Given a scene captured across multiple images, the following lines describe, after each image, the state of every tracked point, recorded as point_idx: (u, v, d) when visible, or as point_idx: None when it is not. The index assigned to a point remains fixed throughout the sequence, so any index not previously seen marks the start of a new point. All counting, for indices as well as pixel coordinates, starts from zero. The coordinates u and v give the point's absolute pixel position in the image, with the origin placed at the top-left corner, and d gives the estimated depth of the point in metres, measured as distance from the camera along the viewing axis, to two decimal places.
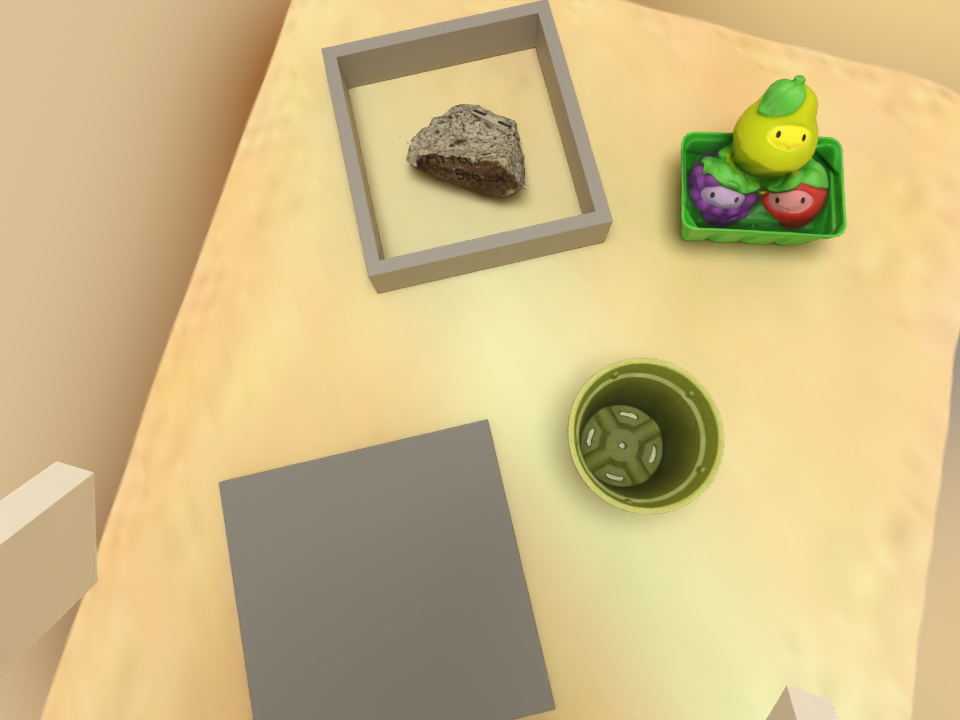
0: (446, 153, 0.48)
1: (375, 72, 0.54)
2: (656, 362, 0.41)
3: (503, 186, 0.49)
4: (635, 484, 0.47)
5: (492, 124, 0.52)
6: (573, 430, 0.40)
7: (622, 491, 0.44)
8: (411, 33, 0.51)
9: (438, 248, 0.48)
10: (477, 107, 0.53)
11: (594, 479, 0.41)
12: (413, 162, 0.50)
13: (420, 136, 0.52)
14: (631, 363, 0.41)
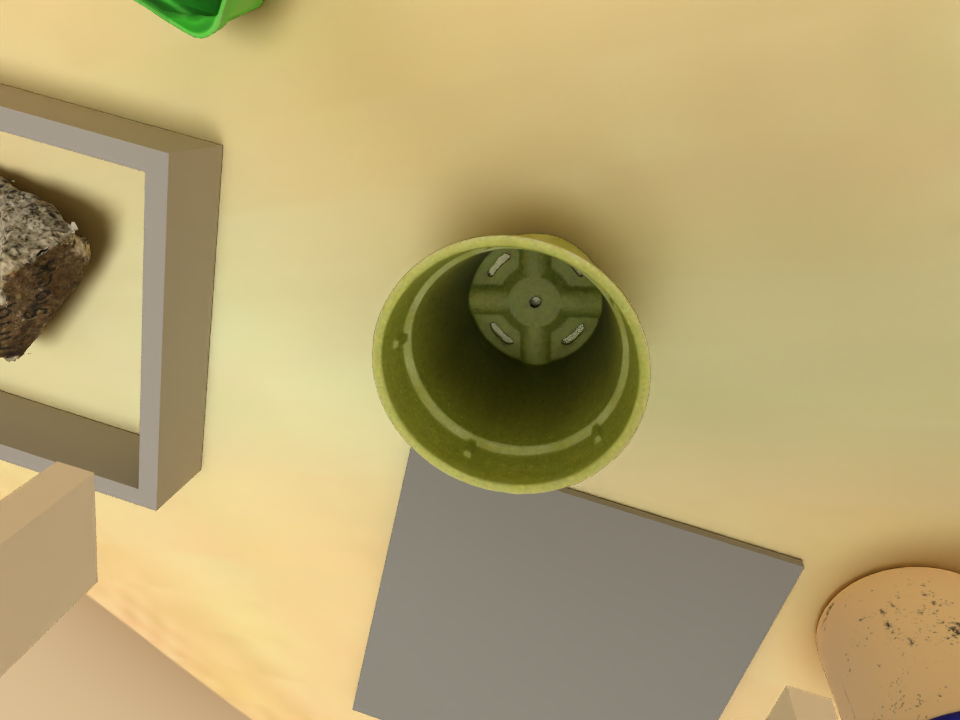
0: None
1: None
2: (400, 289, 0.22)
3: (64, 259, 0.30)
4: (599, 316, 0.29)
5: None
6: (446, 464, 0.24)
7: (589, 377, 0.27)
8: None
9: (142, 416, 0.32)
10: None
11: (539, 450, 0.25)
12: (12, 356, 0.33)
13: None
14: (384, 328, 0.23)
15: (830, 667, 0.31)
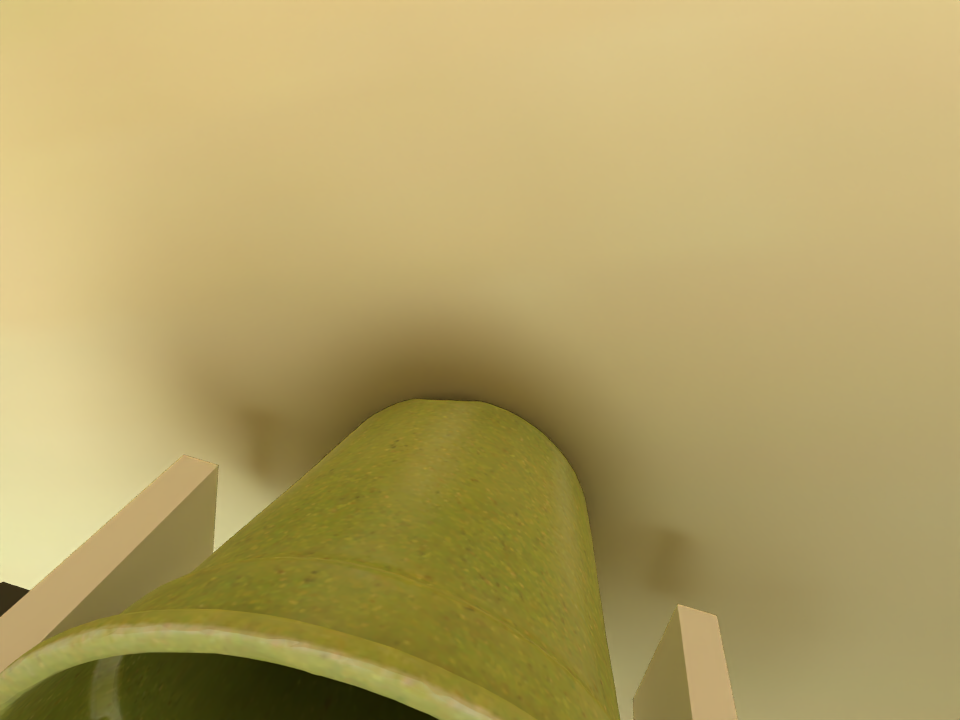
0: None
1: None
2: None
3: None
4: None
5: None
6: None
7: None
8: None
9: None
10: None
11: None
12: None
13: None
14: None
15: None
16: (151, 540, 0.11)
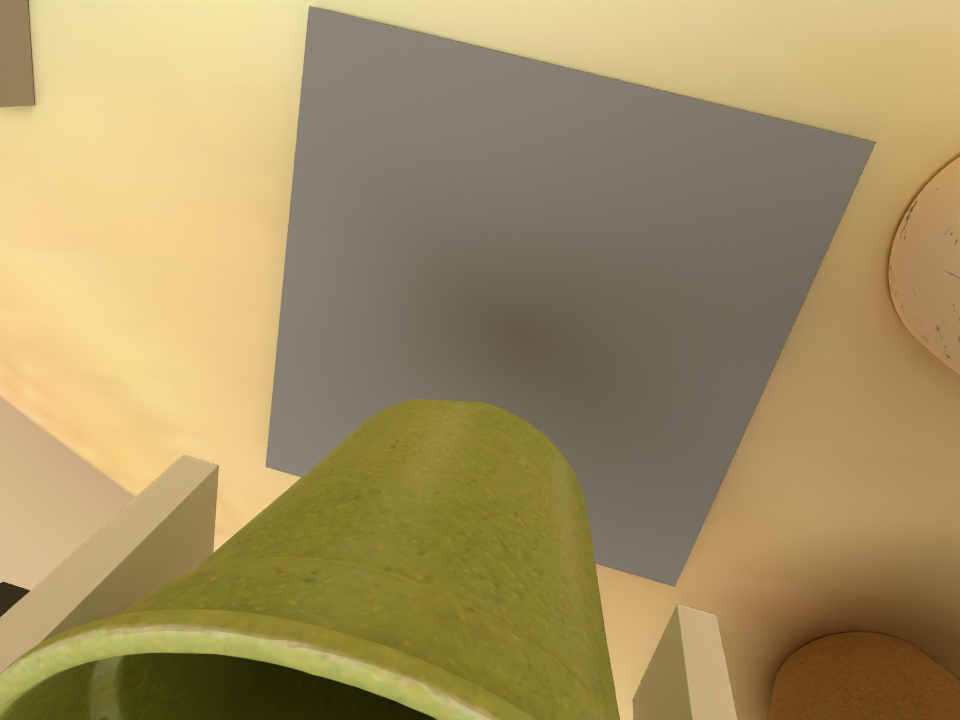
0: None
1: None
2: None
3: None
4: None
5: None
6: None
7: None
8: None
9: None
10: None
11: None
12: None
13: None
14: None
15: (918, 274, 0.21)
16: (151, 540, 0.11)
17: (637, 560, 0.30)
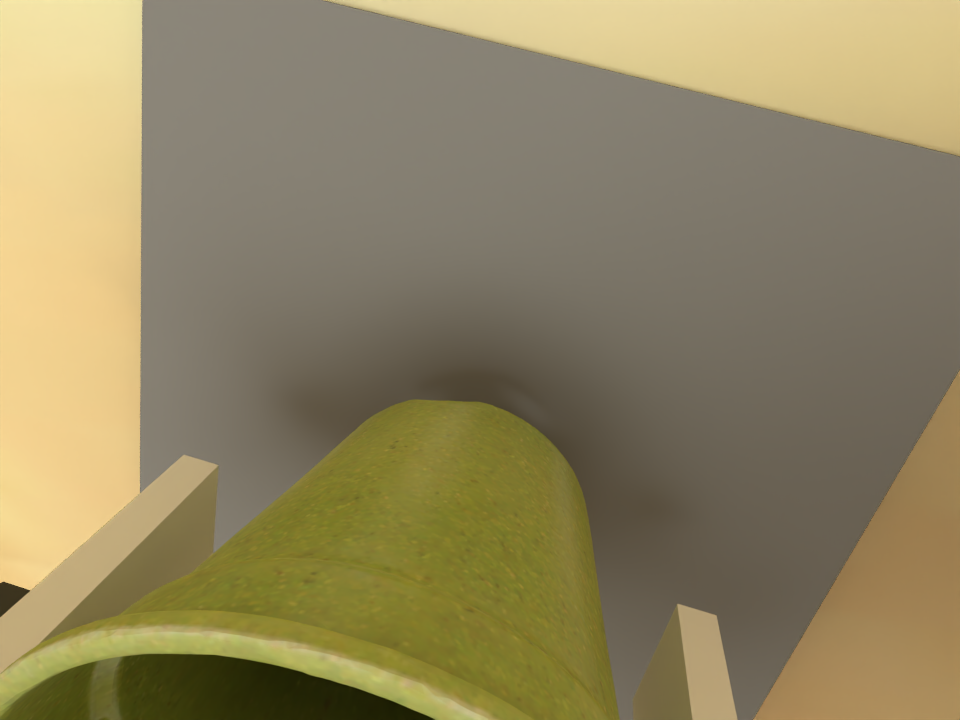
0: None
1: None
2: None
3: None
4: None
5: None
6: None
7: None
8: None
9: None
10: None
11: None
12: None
13: None
14: None
15: None
16: (152, 540, 0.11)
17: None
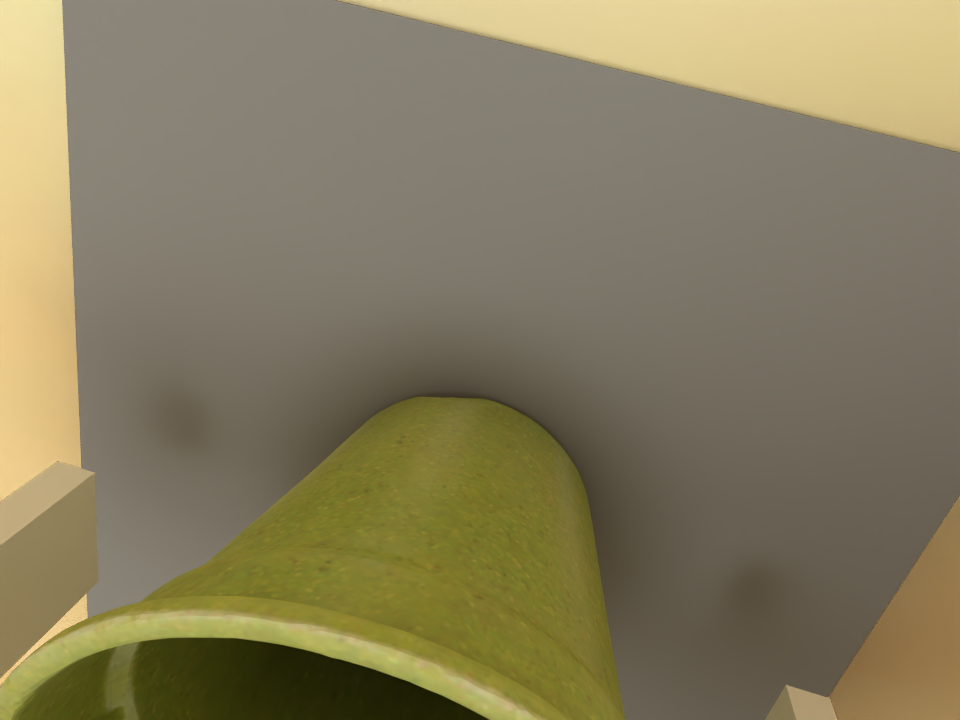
0: None
1: None
2: (6, 708, 0.08)
3: None
4: None
5: None
6: None
7: None
8: None
9: None
10: None
11: None
12: None
13: None
14: None
15: None
16: (0, 555, 0.10)
17: None
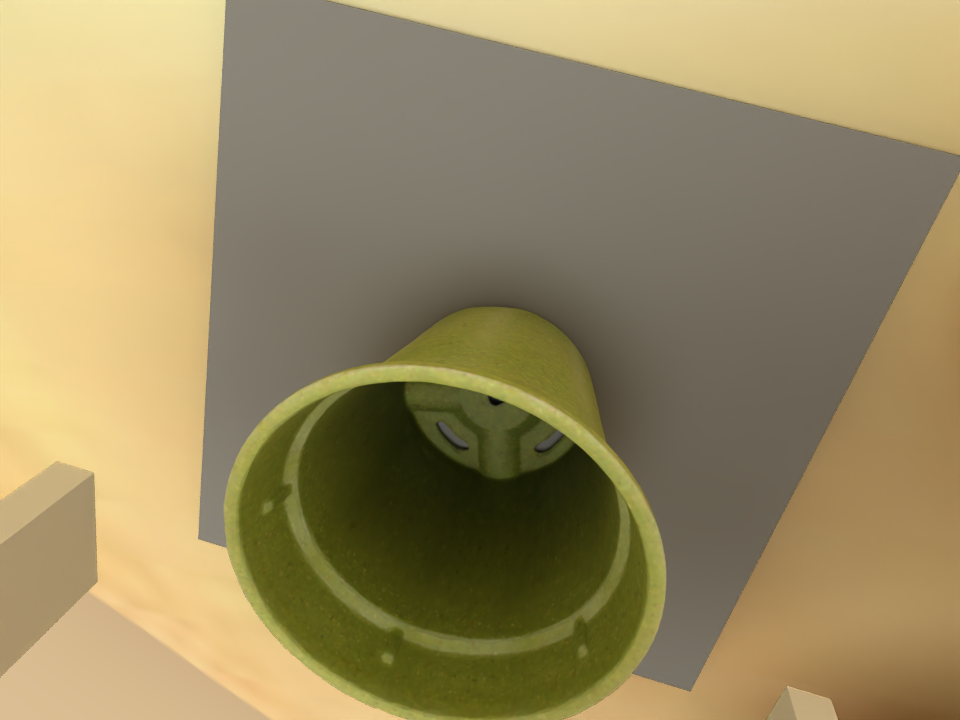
0: None
1: None
2: (256, 442, 0.13)
3: None
4: None
5: None
6: (352, 683, 0.16)
7: (572, 520, 0.19)
8: None
9: None
10: None
11: (496, 649, 0.17)
12: None
13: None
14: (238, 496, 0.14)
15: None
16: None
17: (645, 660, 0.25)
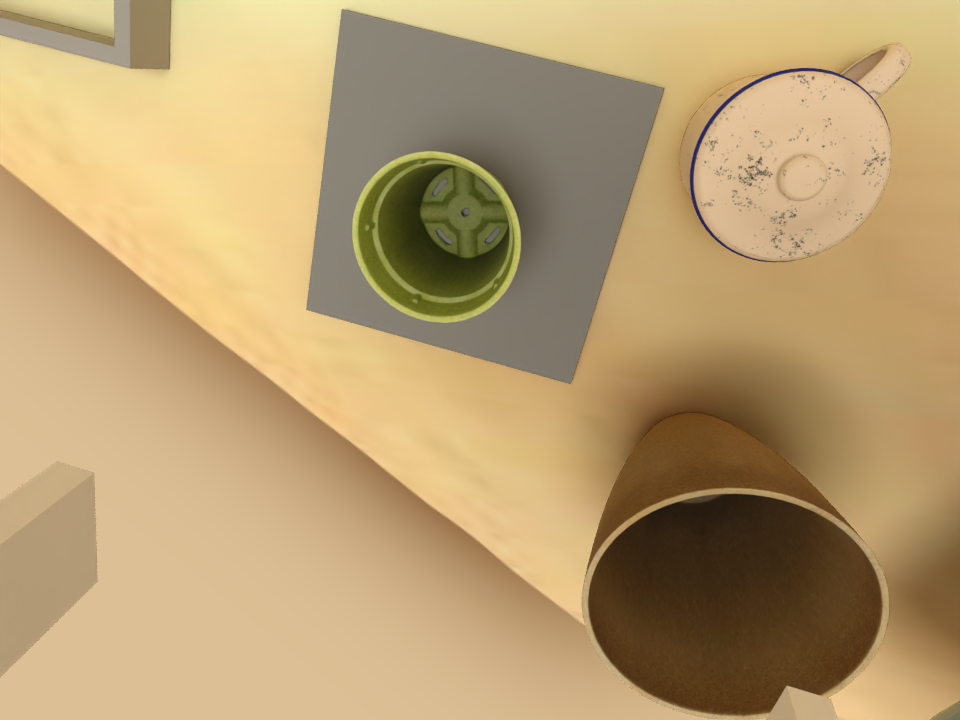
0: None
1: None
2: (368, 188, 0.36)
3: None
4: None
5: None
6: (401, 305, 0.38)
7: (498, 257, 0.41)
8: None
9: None
10: None
11: (461, 299, 0.39)
12: None
13: None
14: (359, 214, 0.36)
15: (683, 161, 0.38)
16: None
17: (546, 366, 0.47)
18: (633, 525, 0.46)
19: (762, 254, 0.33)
